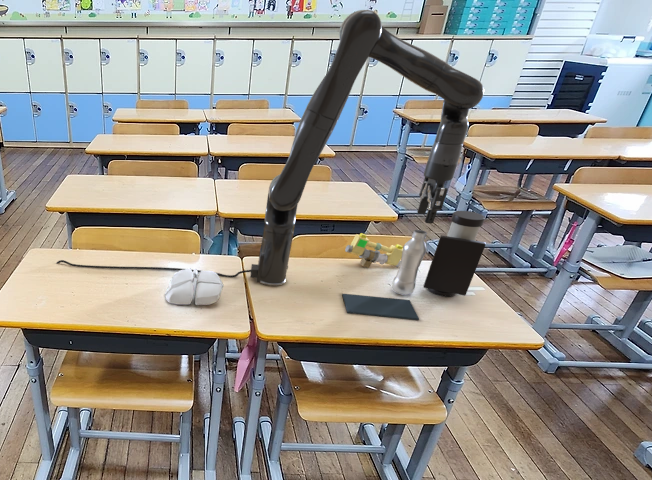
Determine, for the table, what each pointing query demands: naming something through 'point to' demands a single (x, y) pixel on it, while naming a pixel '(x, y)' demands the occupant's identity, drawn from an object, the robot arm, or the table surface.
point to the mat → (379, 306)
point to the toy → (374, 252)
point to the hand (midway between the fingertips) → (424, 218)
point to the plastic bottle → (410, 263)
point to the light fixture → (456, 256)
